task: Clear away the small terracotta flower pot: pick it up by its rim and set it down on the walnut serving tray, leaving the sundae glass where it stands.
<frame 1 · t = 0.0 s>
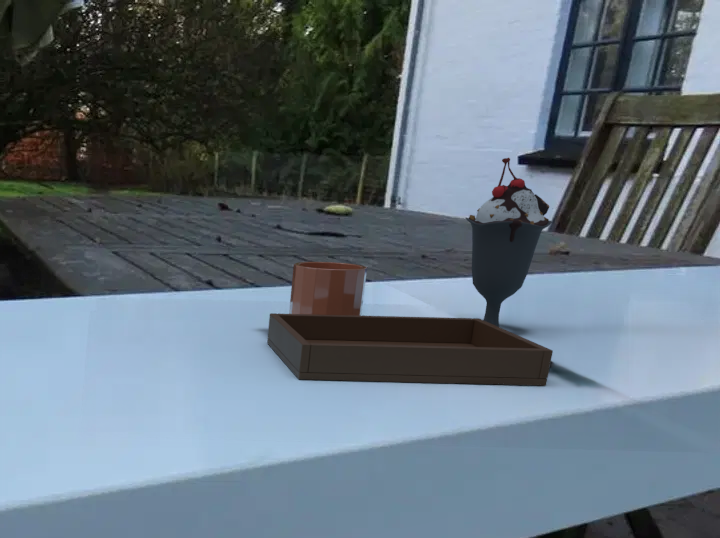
sundae: (487, 343, 80), on the table
tray: (394, 362, 71), on the table
terracotta flower pot: (322, 335, 81), on the table
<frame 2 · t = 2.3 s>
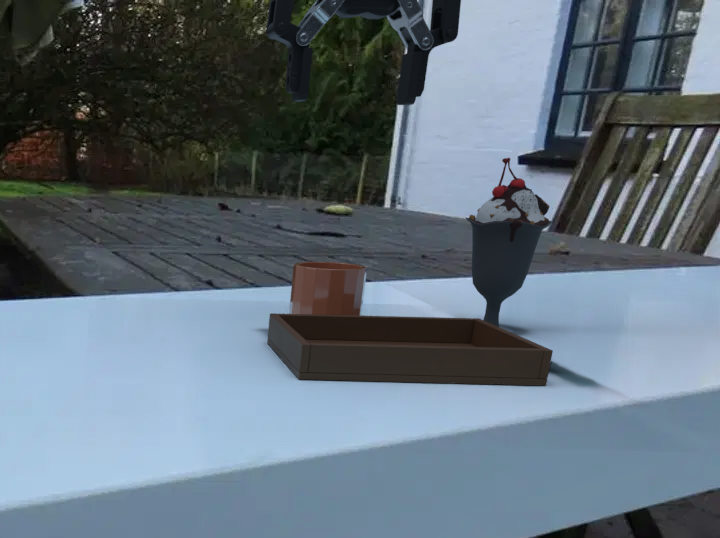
hand: (352, 102, 73), 19 cm above the table, tool pointing down, fingers open, 8 cm apart
nothing on the table moved.
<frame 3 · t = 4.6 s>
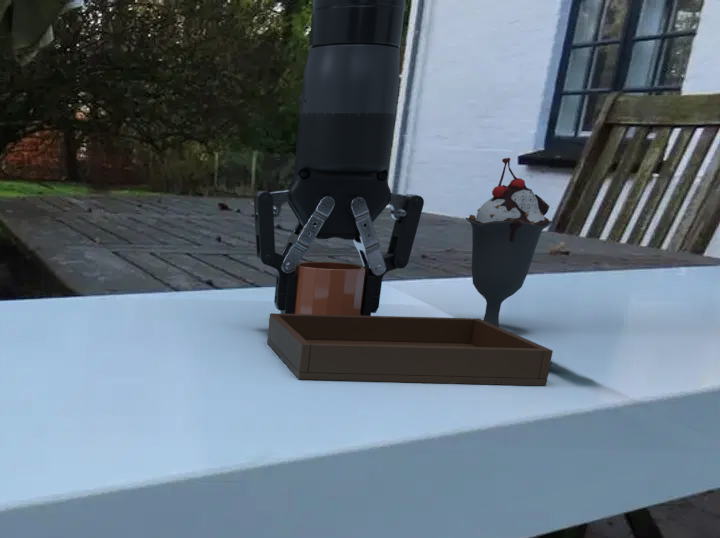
hand: (325, 316, 80), 2 cm above the table, tool pointing down, fingers closed on terracotta flower pot, 6 cm apart
terracotta flower pot: (322, 335, 81), on the table, touching gripper
everything else where it was.
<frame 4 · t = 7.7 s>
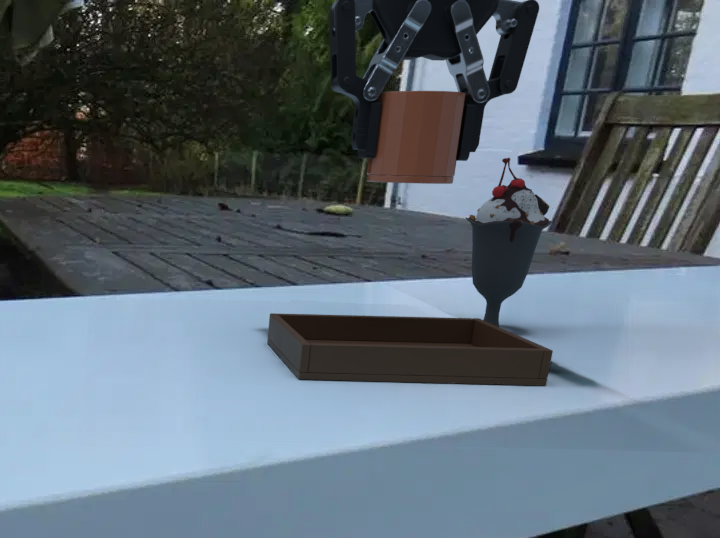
hand: (412, 158, 67), 15 cm above the table, tool pointing down, fingers closed on terracotta flower pot, 6 cm apart
terracotta flower pot: (409, 182, 68), point 13 cm above the table, touching gripper
everything else where it was.
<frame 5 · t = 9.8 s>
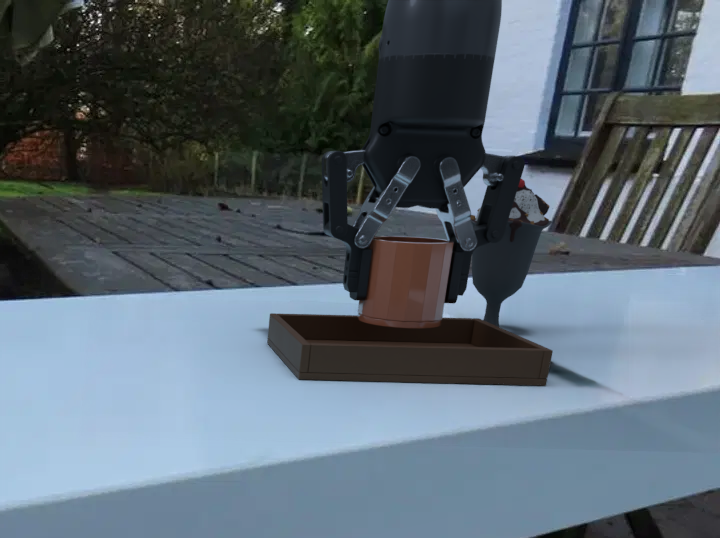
hand: (402, 299, 69), 5 cm above the table, tool pointing down, fingers closed on terracotta flower pot, 6 cm apart
terracotta flower pot: (398, 321, 69), point 3 cm above the table, touching gripper
everything else where it was.
when the fingers open (2 cm above the table, at t = 11.1 s): terracotta flower pot stays where it is, resting on tray.
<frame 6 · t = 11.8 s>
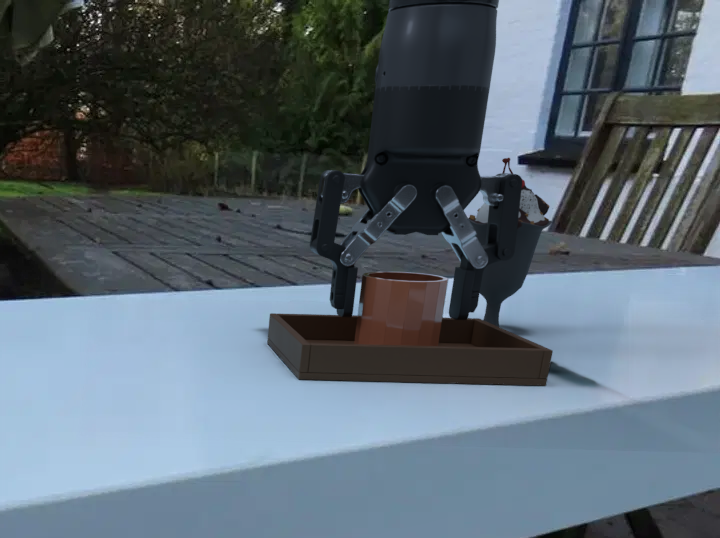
hand: (401, 317, 70), 3 cm above the table, tool pointing down, fingers open, 8 cm apart
terracotta flower pot: (394, 356, 70), resting on tray
everything else where it was.
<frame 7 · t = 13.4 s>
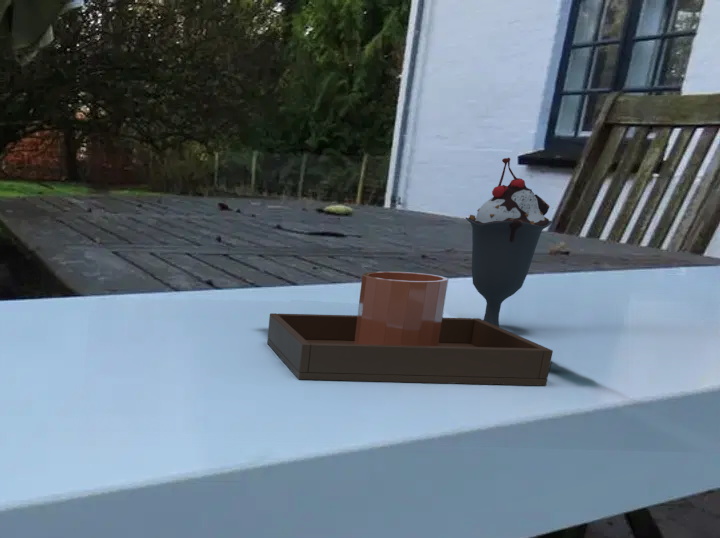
nothing on the table moved.
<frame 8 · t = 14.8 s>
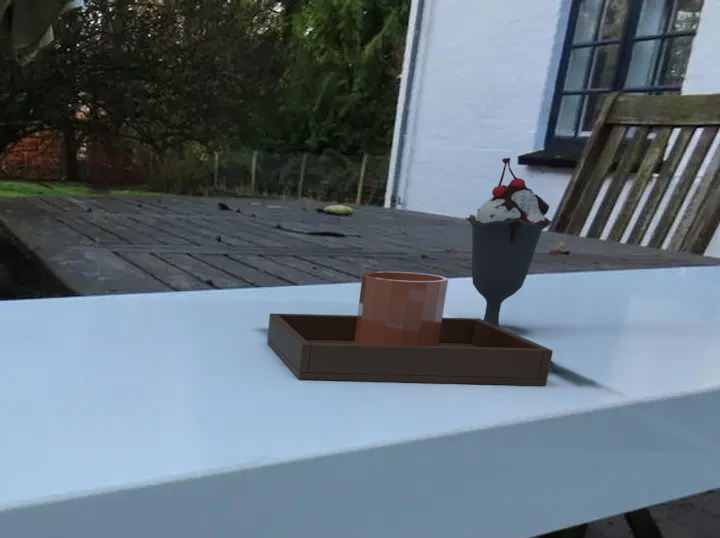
nothing on the table moved.
at the end: terracotta flower pot inside the target area in the tray (0.1 cm from its centre), point 0.5 cm above the tray's base; terracotta flower pot tilted 0°; sundae moved 0.2 cm from its start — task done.
